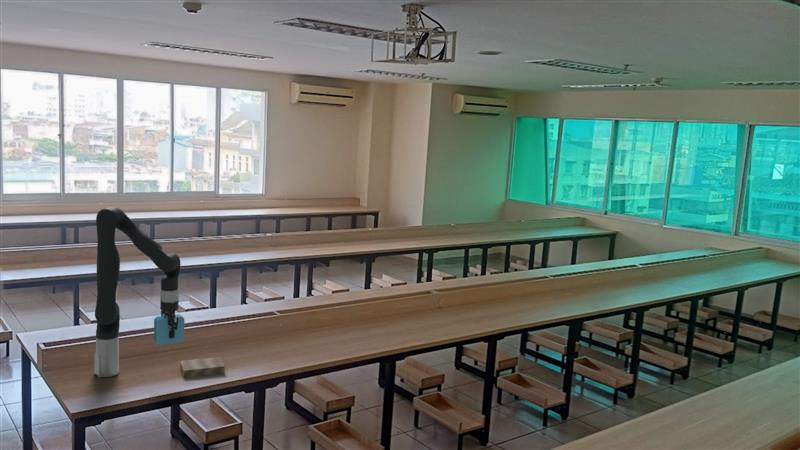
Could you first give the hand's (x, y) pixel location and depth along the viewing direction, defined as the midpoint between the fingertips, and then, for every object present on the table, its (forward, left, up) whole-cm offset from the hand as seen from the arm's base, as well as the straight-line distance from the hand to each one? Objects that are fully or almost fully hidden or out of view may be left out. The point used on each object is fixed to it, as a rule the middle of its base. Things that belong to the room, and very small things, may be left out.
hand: (169, 336), depth 287 cm
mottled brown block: (+16, 0, -20) cm, 26 cm away
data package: (0, 0, -3) cm, 3 cm away
